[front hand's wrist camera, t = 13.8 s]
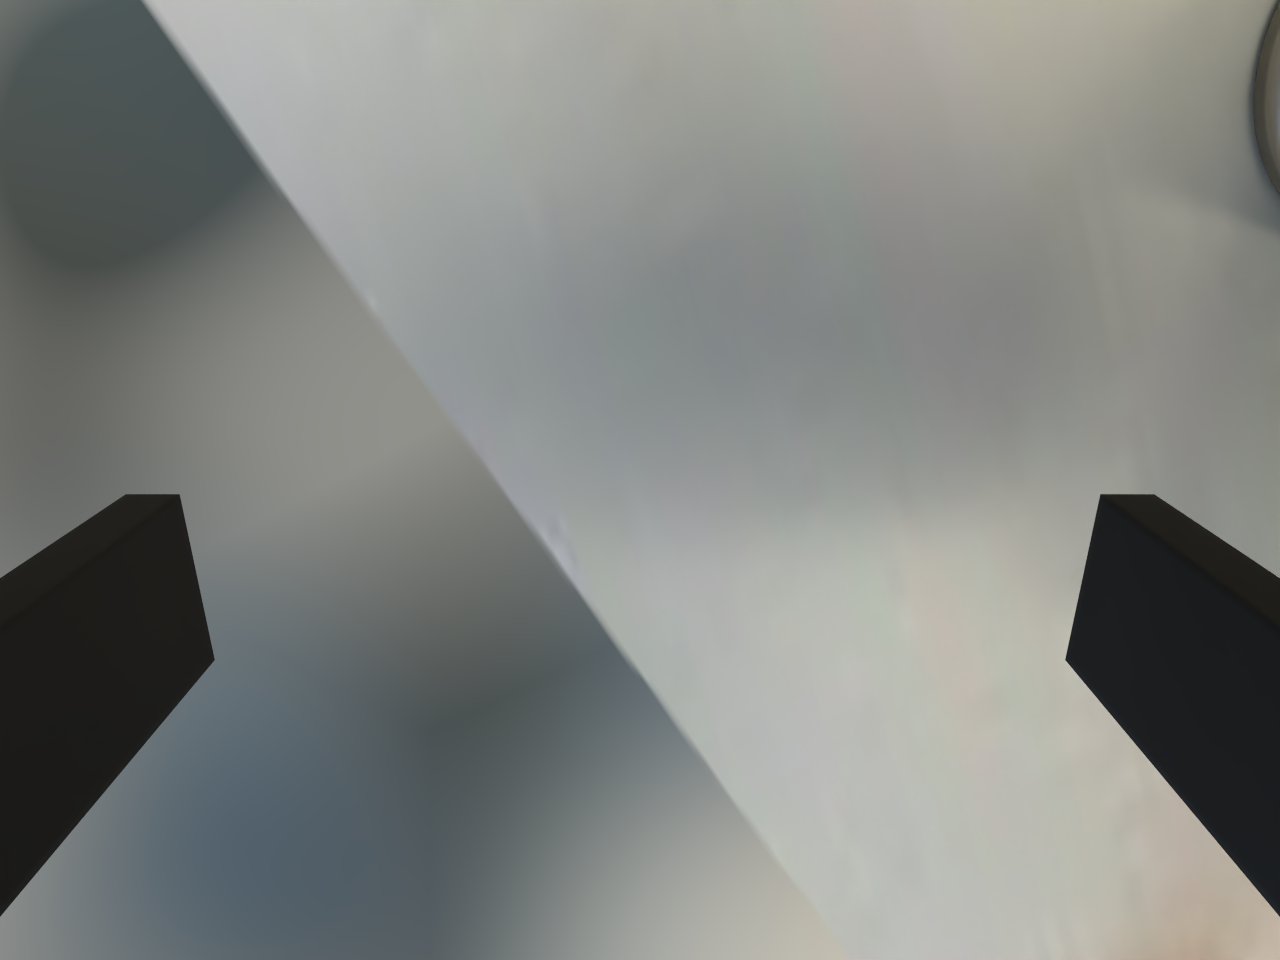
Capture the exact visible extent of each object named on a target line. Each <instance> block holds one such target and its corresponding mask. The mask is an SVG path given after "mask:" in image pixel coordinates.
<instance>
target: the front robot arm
mask: <svg viewBox="0 0 1280 960" xmlns="http://www.w3.org/2000/svg"><path fill="white" fill-rule="evenodd" d="M1254 121H1255V131H1256V137H1257V142H1258V147H1259V151H1260V154H1261V157H1262V160H1263V164H1264V167H1265V169H1266V171H1267V173H1268V175H1269V177H1270V180H1271V182H1272V183H1273V185H1274V186H1275V188H1276V190H1277V191H1278V193H1279V194H1280V2H1279V4H1278V7H1277V9H1276V11H1275V13H1274V16H1273V18H1272V20H1271V23H1270V26H1269V29H1268V31H1267V34H1266V37H1265V40H1264V44H1263V48H1262V51H1261V55H1260V59H1259V64H1258V69H1257V75H1256V82H1255V93H1254ZM214 660H215V659H214V655H213V650H212V645H211V640H210V636H209V631H208V626H207V622H206V617H205V612H204V608H203V603H202V598H201V593H200V589H199V584H198V579H197V575H196V570H195V565H194V560H193V556H192V551H191V546H190V542H189V537H188V532H187V527H186V523H185V518H184V513H183V509H182V504H181V499H180V495H179V494H126V495H124V496H123V497H121V498H120V499H118V500H117V501H115V502H114V503H112V504H111V505H109V506H108V507H106V508H105V509H103V510H102V511H100V512H99V513H97V514H96V515H94V516H93V517H91V518H90V519H88V520H87V521H85V522H84V523H82V524H81V525H79V526H78V527H76V528H75V529H73V530H72V531H70V532H69V533H67V534H66V535H64V536H63V537H61V538H60V539H58V540H57V541H55V542H54V543H52V544H51V545H49V546H48V547H46V548H45V549H43V550H42V551H40V552H39V553H37V554H36V555H34V556H33V557H31V558H30V559H28V560H27V561H25V562H24V563H22V564H21V565H19V566H18V567H16V568H15V569H13V570H12V571H10V572H9V573H7V574H6V575H5V576H3V577H1V578H0V916H1V915H2V914H3V913H4V911H5V910H6V909H7V908H8V907H9V905H10V904H11V903H12V902H13V901H14V899H15V898H16V897H17V896H18V895H19V893H20V892H21V891H22V890H23V889H24V887H25V886H26V885H27V884H28V883H29V881H30V880H31V879H32V878H33V877H34V875H35V874H36V873H37V872H38V871H39V870H40V868H41V867H42V866H43V865H44V863H45V862H46V861H47V860H48V859H49V857H50V856H51V855H52V854H53V853H54V852H55V850H56V849H57V848H58V847H59V846H60V844H61V843H62V842H63V841H64V840H65V838H66V837H67V836H68V835H69V834H70V832H71V831H72V830H73V829H74V828H75V826H76V825H77V824H78V823H79V822H80V820H81V819H82V818H83V817H84V816H85V814H86V813H87V812H88V811H89V810H90V808H91V807H92V806H93V805H94V804H95V802H96V801H97V800H98V799H99V798H100V797H101V795H102V794H103V793H104V792H105V791H106V789H107V788H108V787H109V786H110V785H111V783H112V782H113V781H114V780H115V779H116V777H117V776H118V775H119V774H120V773H121V771H122V770H123V769H124V768H125V767H126V765H127V764H128V763H129V762H130V761H131V759H132V758H133V757H134V756H135V755H136V753H137V752H138V751H139V750H140V749H141V747H142V746H143V745H144V744H145V743H146V741H147V740H148V739H149V738H150V737H151V735H152V734H153V733H154V732H155V731H156V729H157V728H158V727H159V726H160V725H161V723H162V722H163V721H164V720H165V719H166V718H167V716H168V715H169V714H170V713H171V712H172V710H173V709H174V708H175V707H176V706H177V704H178V703H179V702H180V701H181V700H182V698H183V697H184V696H185V695H186V694H187V692H188V691H189V690H190V689H191V688H192V686H193V685H194V684H195V683H196V682H197V680H198V679H199V678H200V677H201V676H202V674H203V673H204V672H205V671H206V670H207V668H208V667H209V666H210V665H211V664H212V662H213V661H214ZM1065 660H1066V661H1067V662H1068V664H1069V665H1070V666H1071V667H1072V668H1073V670H1074V671H1075V672H1076V673H1077V674H1078V676H1079V677H1080V678H1081V679H1082V680H1083V682H1084V683H1085V684H1086V685H1087V686H1088V688H1089V689H1090V690H1091V691H1092V692H1093V694H1094V695H1095V696H1096V697H1097V698H1098V700H1099V701H1100V702H1101V703H1102V704H1103V706H1104V707H1105V708H1106V709H1107V710H1108V712H1109V713H1110V714H1111V715H1112V716H1113V718H1114V719H1115V720H1116V721H1117V722H1118V724H1119V725H1120V726H1121V727H1122V728H1123V729H1124V731H1125V732H1126V733H1127V734H1128V735H1129V737H1130V738H1131V739H1132V740H1133V741H1134V743H1135V744H1136V745H1137V746H1138V747H1139V749H1140V750H1141V751H1142V752H1143V753H1144V755H1145V756H1146V757H1147V758H1148V759H1149V761H1150V762H1151V763H1152V764H1153V765H1154V767H1155V768H1156V769H1157V770H1158V771H1159V773H1160V774H1161V775H1162V776H1163V777H1164V779H1165V780H1166V781H1167V782H1168V783H1169V785H1170V786H1171V787H1172V788H1173V789H1174V791H1175V792H1176V793H1177V794H1178V795H1179V797H1180V798H1181V799H1182V800H1183V801H1184V803H1185V804H1186V805H1187V806H1188V807H1189V808H1190V810H1191V811H1192V812H1193V813H1194V814H1195V816H1196V817H1197V818H1198V819H1199V820H1200V822H1201V823H1202V824H1203V825H1204V826H1205V828H1206V829H1207V830H1208V831H1209V832H1210V834H1211V835H1212V836H1213V837H1214V838H1215V840H1216V841H1217V842H1218V843H1219V844H1220V846H1221V847H1222V848H1223V849H1224V850H1225V852H1226V853H1227V854H1228V855H1229V856H1230V858H1231V859H1232V860H1233V861H1234V862H1235V864H1236V865H1237V866H1238V867H1239V868H1240V870H1241V871H1242V872H1243V873H1244V874H1245V876H1246V877H1247V878H1248V879H1249V880H1250V881H1251V883H1252V884H1253V885H1254V886H1255V887H1256V889H1257V890H1258V891H1259V892H1260V893H1261V895H1262V896H1263V897H1264V898H1265V899H1266V901H1267V902H1268V903H1269V904H1270V905H1271V907H1272V908H1273V909H1274V910H1275V911H1276V913H1277V914H1278V915H1279V916H1280V578H1279V577H1277V576H1276V575H1274V574H1273V573H1271V572H1270V571H1268V570H1267V569H1265V568H1264V567H1262V566H1261V565H1259V564H1258V563H1256V562H1255V561H1253V560H1252V559H1250V558H1249V557H1247V556H1246V555H1244V554H1243V553H1241V552H1240V551H1238V550H1237V549H1235V548H1234V547H1232V546H1231V545H1229V544H1228V543H1226V542H1225V541H1223V540H1222V539H1220V538H1219V537H1217V536H1216V535H1214V534H1213V533H1211V532H1210V531H1208V530H1207V529H1205V528H1204V527H1202V526H1201V525H1199V524H1198V523H1196V522H1195V521H1193V520H1192V519H1190V518H1189V517H1187V516H1186V515H1184V514H1183V513H1181V512H1180V511H1178V510H1177V509H1175V508H1174V507H1172V506H1171V505H1169V504H1168V503H1166V502H1165V501H1163V500H1162V499H1160V498H1159V497H1157V496H1156V495H1154V494H1100V499H1099V504H1098V509H1097V513H1096V518H1095V523H1094V527H1093V532H1092V537H1091V542H1090V546H1089V551H1088V556H1087V560H1086V565H1085V570H1084V575H1083V579H1082V584H1081V589H1080V593H1079V598H1078V603H1077V607H1076V612H1075V617H1074V622H1073V626H1072V631H1071V636H1070V640H1069V645H1068V650H1067V655H1066V659H1065Z"/></svg>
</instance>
